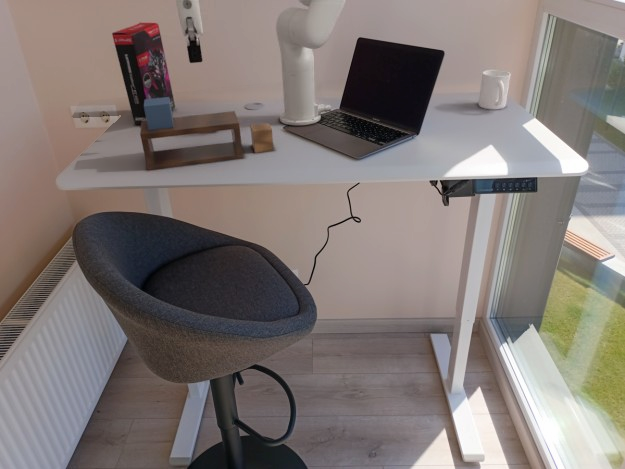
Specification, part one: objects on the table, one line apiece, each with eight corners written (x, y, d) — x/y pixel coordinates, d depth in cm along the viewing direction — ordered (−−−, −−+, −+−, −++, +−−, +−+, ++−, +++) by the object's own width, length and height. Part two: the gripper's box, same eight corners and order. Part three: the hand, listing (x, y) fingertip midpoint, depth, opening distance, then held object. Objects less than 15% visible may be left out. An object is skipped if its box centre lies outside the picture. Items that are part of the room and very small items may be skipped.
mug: (512, 113, 154) (518, 79, 149) (485, 114, 155) (490, 80, 149) (500, 101, 164) (506, 69, 159) (475, 102, 165) (479, 70, 159)
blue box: (173, 120, 130) (169, 96, 127) (173, 127, 125) (169, 103, 122) (149, 122, 129) (144, 99, 126) (148, 130, 124) (143, 106, 121)
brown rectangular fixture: (238, 144, 140) (234, 110, 135) (243, 158, 132) (239, 122, 127) (149, 155, 135) (141, 121, 130) (148, 170, 127) (140, 134, 122)
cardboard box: (270, 144, 140) (268, 123, 136) (273, 150, 135) (271, 129, 132) (252, 146, 139) (250, 125, 135) (255, 153, 134) (252, 131, 131)
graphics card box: (152, 126, 155) (133, 32, 141) (132, 125, 157) (110, 32, 142) (176, 109, 170) (160, 21, 155) (157, 108, 171) (139, 22, 157)
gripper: (201, -14, 115) (212, 64, 124) (198, -20, 129) (208, 50, 138) (167, -12, 113) (180, 67, 122) (168, -18, 128) (180, 52, 137)
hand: (195, 58), depth 130 cm, fingers open, 9 cm apart
